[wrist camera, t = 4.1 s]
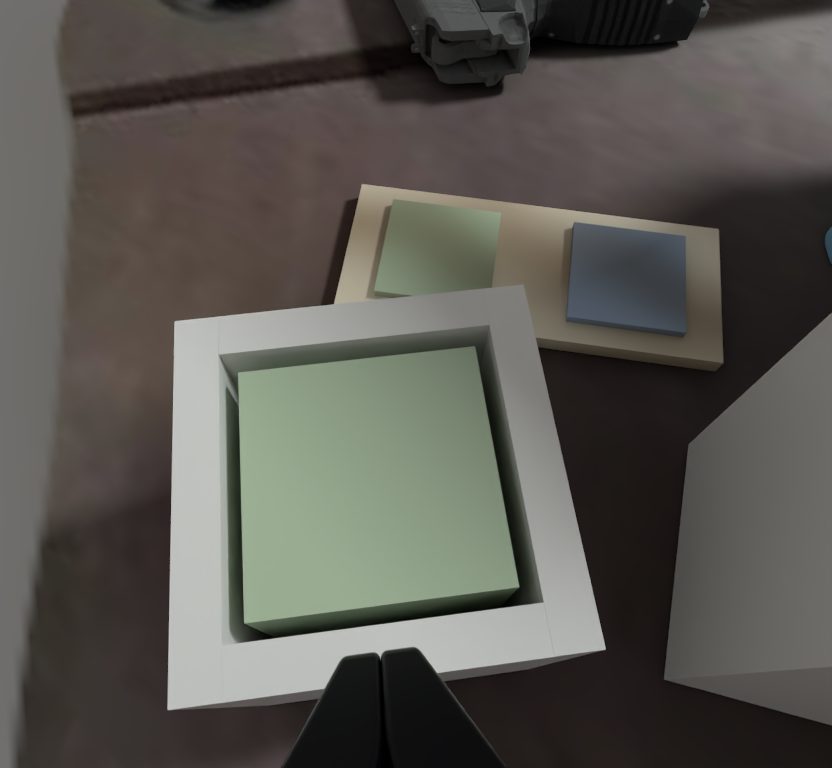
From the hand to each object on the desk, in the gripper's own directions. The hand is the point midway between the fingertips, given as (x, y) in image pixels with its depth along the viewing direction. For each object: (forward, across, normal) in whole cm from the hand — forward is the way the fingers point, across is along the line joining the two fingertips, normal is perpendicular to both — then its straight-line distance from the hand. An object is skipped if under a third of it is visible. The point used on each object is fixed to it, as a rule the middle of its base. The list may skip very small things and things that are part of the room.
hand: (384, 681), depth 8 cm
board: (+16, -6, -1) cm, 17 cm away
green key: (+10, 0, +5) cm, 11 cm away
